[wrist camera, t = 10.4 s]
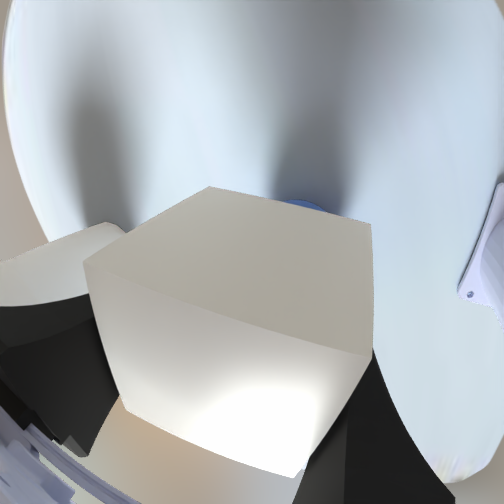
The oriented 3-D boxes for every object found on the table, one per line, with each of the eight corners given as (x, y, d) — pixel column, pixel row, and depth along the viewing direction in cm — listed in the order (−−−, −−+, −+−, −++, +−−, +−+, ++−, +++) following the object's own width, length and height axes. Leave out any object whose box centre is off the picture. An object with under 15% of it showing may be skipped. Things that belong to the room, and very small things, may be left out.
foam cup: (82, 190, 24) (-39, 252, 13) (161, 231, 22) (28, 332, 12) (82, 270, 29) (-7, 339, 18) (149, 314, 28) (60, 408, 17)
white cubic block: (370, 224, 10) (371, 358, 4) (328, 349, 13) (293, 477, 7) (209, 186, 11) (82, 261, 6) (203, 310, 14) (125, 409, 9)
